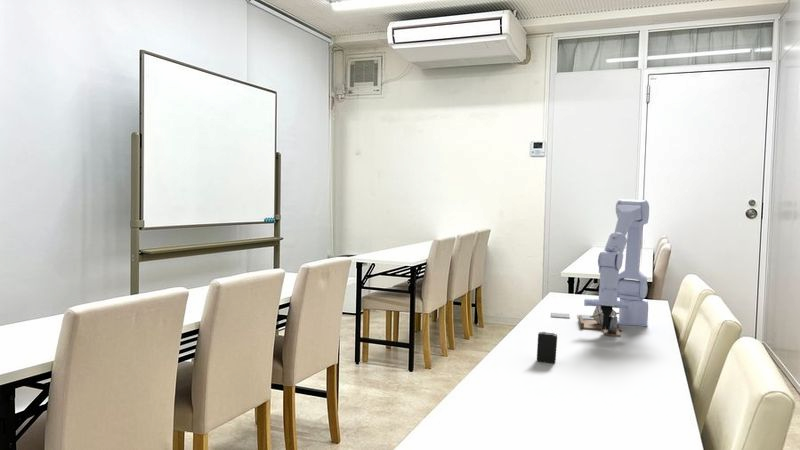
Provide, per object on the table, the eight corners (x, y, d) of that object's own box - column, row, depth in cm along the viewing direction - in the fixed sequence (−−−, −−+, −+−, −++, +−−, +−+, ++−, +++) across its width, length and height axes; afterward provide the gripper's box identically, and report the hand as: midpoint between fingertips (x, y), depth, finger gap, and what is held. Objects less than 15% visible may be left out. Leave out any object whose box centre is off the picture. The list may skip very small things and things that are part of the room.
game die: (603, 335, 211) (611, 310, 215) (618, 332, 203) (626, 306, 207) (582, 323, 210) (590, 298, 214) (596, 319, 202) (604, 294, 206)
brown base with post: (617, 323, 213) (617, 306, 212) (624, 337, 194) (624, 318, 194) (578, 320, 216) (579, 304, 215) (582, 333, 197) (582, 315, 197)
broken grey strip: (595, 317, 223) (595, 315, 223) (597, 320, 217) (597, 319, 217) (551, 314, 227) (551, 312, 227) (551, 317, 221) (551, 316, 221)
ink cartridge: (555, 361, 167) (557, 333, 166) (554, 364, 165) (556, 335, 164) (537, 359, 169) (539, 331, 168) (536, 361, 167) (538, 333, 166)
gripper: (585, 288, 194) (583, 329, 195) (633, 291, 191) (631, 334, 192) (584, 284, 201) (582, 324, 202) (631, 288, 198) (628, 328, 199)
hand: (606, 329), depth 197 cm, fingers closed, pressing on brown base with post
